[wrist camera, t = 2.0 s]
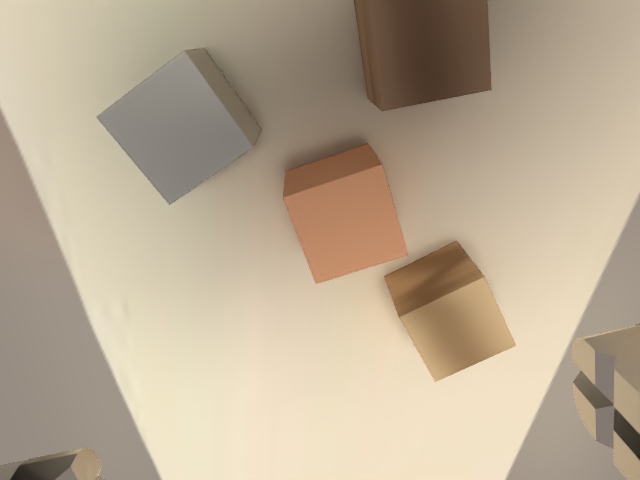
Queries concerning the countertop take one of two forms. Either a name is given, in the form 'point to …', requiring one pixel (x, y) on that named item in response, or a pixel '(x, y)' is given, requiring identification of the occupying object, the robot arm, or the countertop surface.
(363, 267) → the terracotta cube
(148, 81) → the grey cube
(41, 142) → the countertop surface
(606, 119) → the countertop surface
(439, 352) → the oak cube
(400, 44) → the walnut cube
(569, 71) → the countertop surface
